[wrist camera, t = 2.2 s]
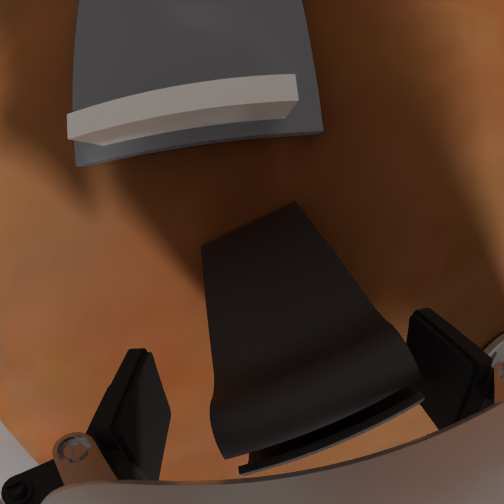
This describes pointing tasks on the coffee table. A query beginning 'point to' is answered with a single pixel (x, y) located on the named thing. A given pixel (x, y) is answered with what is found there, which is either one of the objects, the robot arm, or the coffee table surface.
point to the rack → (188, 75)
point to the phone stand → (295, 345)
